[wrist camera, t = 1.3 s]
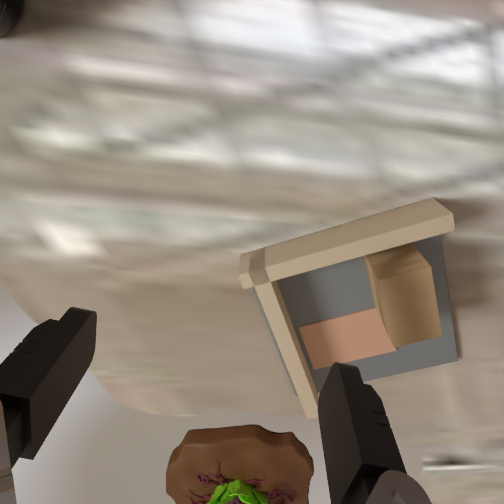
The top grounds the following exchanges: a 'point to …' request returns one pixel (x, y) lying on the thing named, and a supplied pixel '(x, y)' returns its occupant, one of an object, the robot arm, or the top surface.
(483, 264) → the top surface
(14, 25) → the supplement bottle
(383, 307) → the oak block
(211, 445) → the brown rough-edged lump
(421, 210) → the tray
